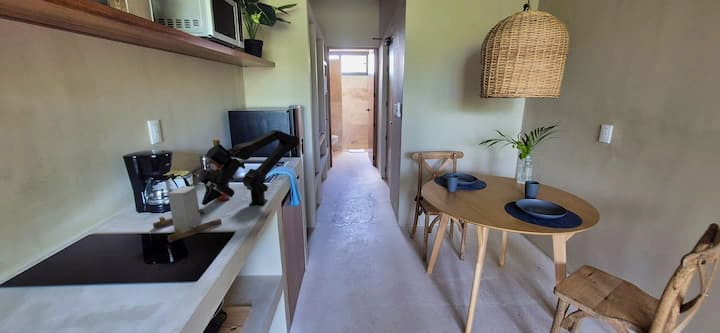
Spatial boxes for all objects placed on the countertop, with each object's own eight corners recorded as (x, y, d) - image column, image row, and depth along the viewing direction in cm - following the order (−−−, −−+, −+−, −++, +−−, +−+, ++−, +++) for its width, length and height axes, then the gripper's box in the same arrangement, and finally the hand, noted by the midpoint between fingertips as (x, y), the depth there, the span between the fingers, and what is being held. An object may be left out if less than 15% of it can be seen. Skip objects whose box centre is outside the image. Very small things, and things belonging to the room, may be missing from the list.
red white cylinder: (211, 200, 141) (203, 140, 133) (223, 195, 147) (216, 137, 140) (223, 202, 138) (215, 141, 131) (235, 197, 145) (228, 139, 137)
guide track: (202, 212, 128) (201, 205, 127) (222, 224, 117) (220, 216, 116) (153, 227, 114) (151, 219, 113) (170, 242, 104) (168, 233, 103)
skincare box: (189, 231, 112) (183, 193, 108) (173, 231, 112) (166, 193, 108) (202, 221, 120) (196, 185, 116) (187, 221, 120) (181, 185, 116)
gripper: (200, 156, 124) (175, 189, 119) (223, 164, 112) (196, 201, 107) (222, 171, 132) (198, 202, 127) (245, 180, 120) (220, 214, 115)
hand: (202, 204), depth 119 cm, fingers closed
